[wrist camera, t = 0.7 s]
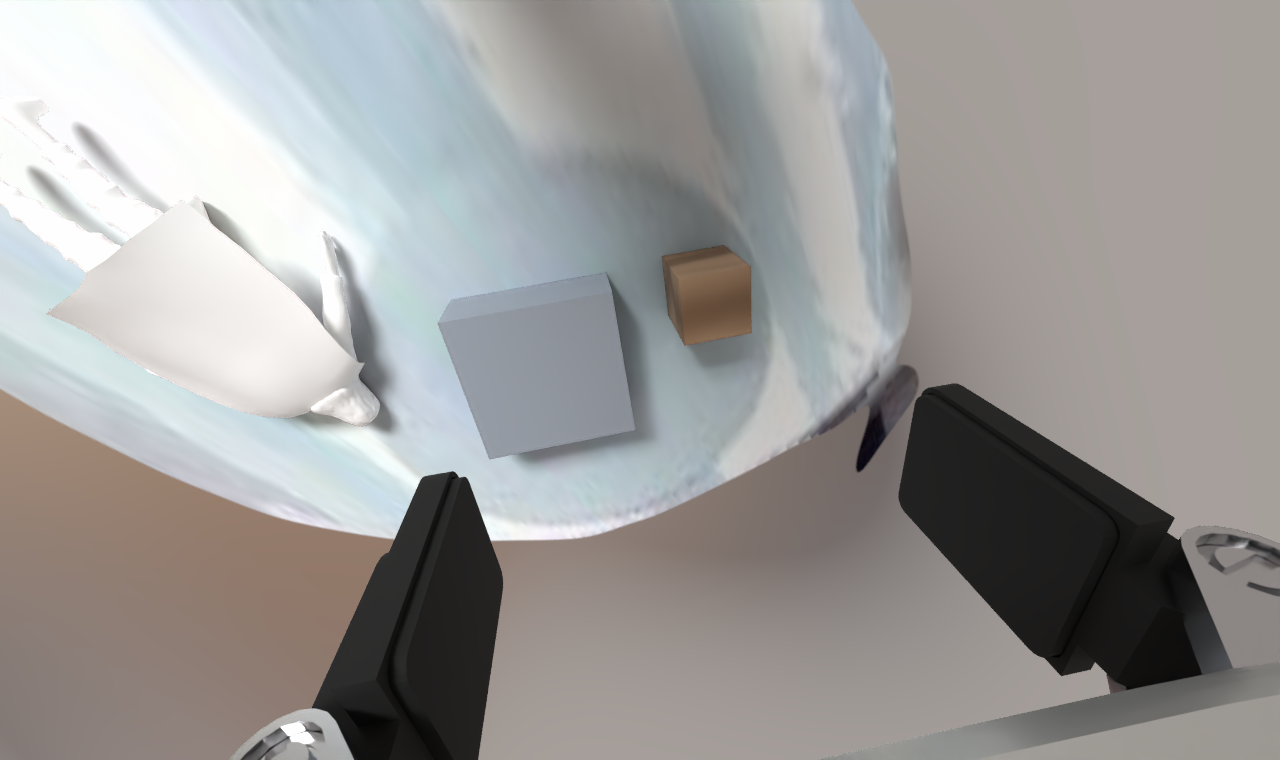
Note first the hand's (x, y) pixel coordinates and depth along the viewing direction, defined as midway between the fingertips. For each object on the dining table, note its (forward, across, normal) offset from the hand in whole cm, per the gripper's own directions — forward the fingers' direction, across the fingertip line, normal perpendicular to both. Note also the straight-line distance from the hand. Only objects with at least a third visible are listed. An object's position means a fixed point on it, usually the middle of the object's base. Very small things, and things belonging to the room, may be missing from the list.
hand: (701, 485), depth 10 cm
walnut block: (+29, -7, +4) cm, 30 cm away
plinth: (+30, +6, +9) cm, 31 cm away
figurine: (+29, +26, 0) cm, 39 cm away
